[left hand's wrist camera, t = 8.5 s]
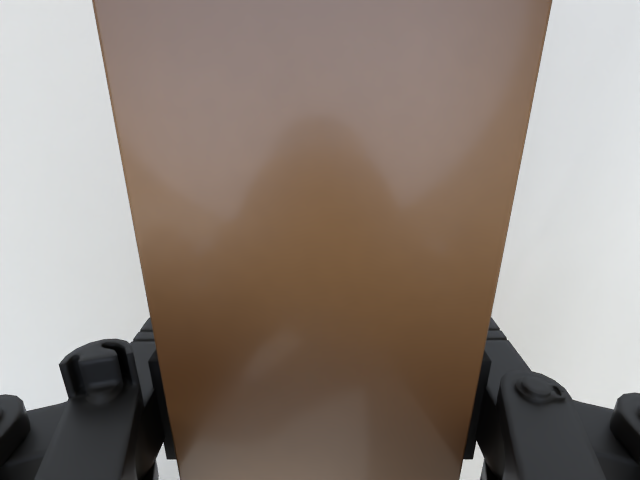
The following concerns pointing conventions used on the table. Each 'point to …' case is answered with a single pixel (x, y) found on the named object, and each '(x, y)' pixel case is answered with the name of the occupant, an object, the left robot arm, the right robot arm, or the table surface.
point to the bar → (321, 220)
